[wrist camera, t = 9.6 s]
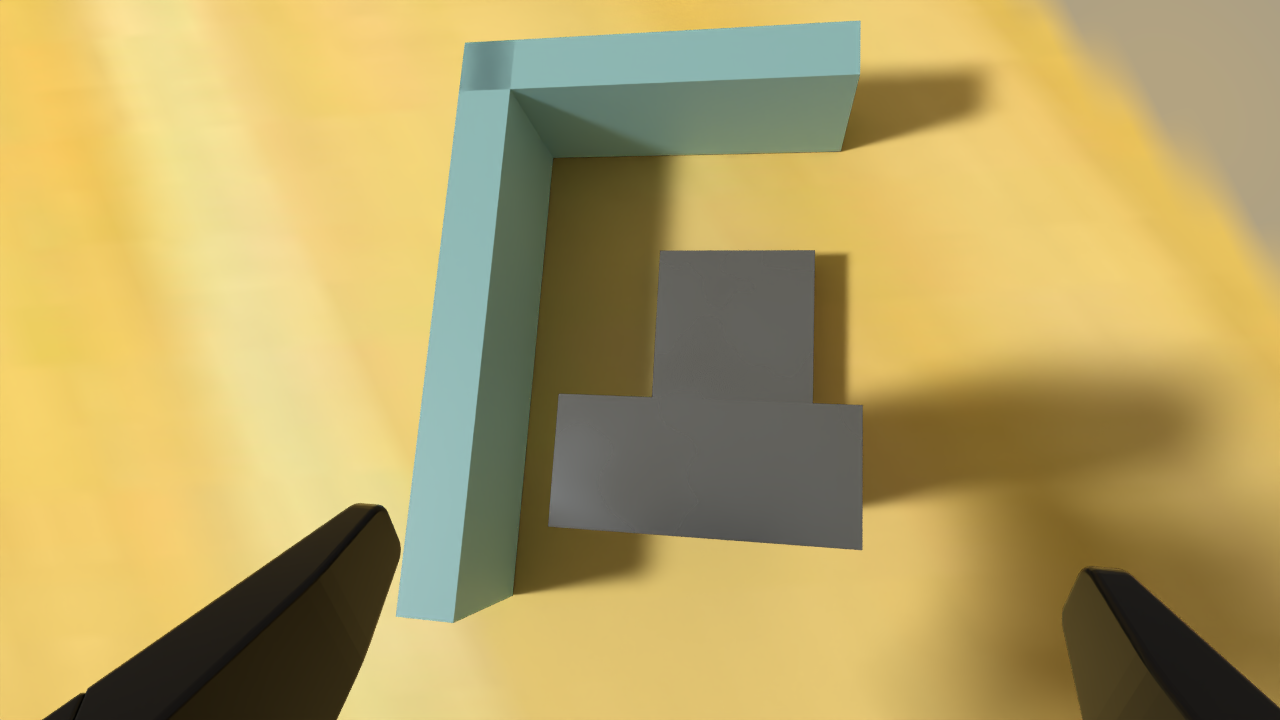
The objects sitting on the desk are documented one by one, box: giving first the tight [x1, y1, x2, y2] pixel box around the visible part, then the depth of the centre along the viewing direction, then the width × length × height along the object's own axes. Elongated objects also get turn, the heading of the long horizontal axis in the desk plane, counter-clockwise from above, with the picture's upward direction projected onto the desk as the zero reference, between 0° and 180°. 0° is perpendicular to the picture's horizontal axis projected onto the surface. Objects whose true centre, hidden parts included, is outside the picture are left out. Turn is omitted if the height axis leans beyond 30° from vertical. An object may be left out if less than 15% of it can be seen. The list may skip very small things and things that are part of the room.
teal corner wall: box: [396, 21, 860, 623], centre depth 19 cm, size 16×11×4 cm
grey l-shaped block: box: [548, 250, 863, 550], centre depth 15 cm, size 8×4×10 cm, turn 177°
